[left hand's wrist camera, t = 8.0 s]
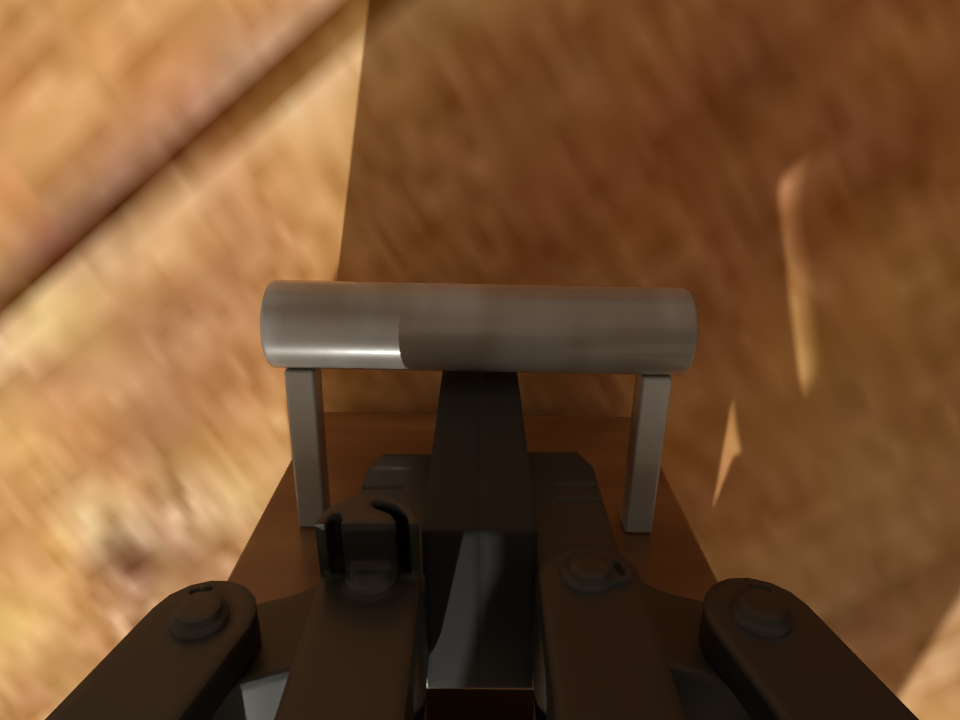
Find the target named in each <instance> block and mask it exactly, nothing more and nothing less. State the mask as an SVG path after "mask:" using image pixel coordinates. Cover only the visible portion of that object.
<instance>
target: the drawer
mask: <svg viewBox="0 0 960 720" xmlns="http://www.w3.org/2000/svg"><path fill="white" fill-rule="evenodd" d="M260 334H261V343H262V348H263V352H264V355H265V358H266V360H267V362H268V364H269V365H270V366H272V367H274V368H287V369H286V370H285V384H286V394H287V405H288V416H289V426H290V437H291V447H292V460H291V462H290V464H289V466H288V468H287V470H286V472H285V473H284V475H283V477H282V479H281V481H280V483H279V485H278V487H277V488H276V490H275V492H274V494H273V496H272V498H271V500H270V502H269V504H268V505H267V507H266V509H265V511H264V513H263V515H262V517H261V519H260V520H259V522H258V524H257V526H256V528H255V530H254V532H253V534H252V535H251V537H250V539H249V541H248V543H247V545H246V547H245V549H244V551H243V552H242V554H241V556H240V558H239V560H238V562H237V564H236V566H235V567H234V569H233V571H232V573H231V575H230V577H229V579H228V581H232V582H234V583H237V584H240V585H242V586H245V587H247V588H248V590H249V591H250V592H251V593H252V594H253V595H254V597H255V599H256V604H259V603H263V602H268V601H272V600H276V599H281V598H285V597H288V596H292V595H295V594H298V593H301V592H303V591H305V590H307V589H309V588H311V587H313V586H315V585H317V584H318V583H319V580H320V577H321V576H320V567H319V558H318V549H317V540H316V531H315V523H316V522H317V520H318V519H319V517H320V516H321V515H322V513H323V512H324V511H326V510H327V509H329V508H330V507H332V506H333V505H335V504H336V503H339V502H342V501H345V500H348V499H350V498H353V497H359V493H360V490H362V483H363V480H364V477H365V473H366V470H367V468H368V467H369V466H370V465H371V464H373V463H374V462H375V461H376V460H377V459H378V458H379V457H380V456H381V455H382V454H432V448H433V441H434V433H435V426H436V418H437V414H410V413H353V412H324V408H323V395H322V381H321V369H366V370H421V371H477V372H532V373H588V374H636V377H635V386H634V395H633V404H632V413H631V417H579V416H523V421H524V429H525V436H526V444H527V451H528V452H578V453H579V454H580V455H581V456H582V457H583V458H584V459H585V460H586V461H587V462H588V463H589V464H590V465H592V466H593V469H594V472H595V475H596V479H597V482H598V487H599V488H600V492H601V495H602V501H603V502H604V505H605V508H606V512H607V515H608V518H609V521H610V525H611V528H612V531H613V535H614V538H615V541H616V545H617V548H618V551H619V554H620V555H621V556H623V557H624V558H625V559H627V560H628V561H629V562H631V563H632V565H633V566H634V568H635V569H636V571H637V573H638V574H639V576H640V579H641V581H642V582H644V583H645V584H647V585H650V586H652V587H654V588H656V589H658V590H661V591H664V592H667V593H670V594H673V595H677V596H682V597H686V598H690V599H695V600H699V601H703V602H704V598H705V594H706V593H707V592H708V590H709V589H710V588H711V587H712V586H713V585H714V584H716V583H718V582H717V580H716V578H715V576H714V574H713V572H712V570H711V568H710V566H709V564H708V561H707V559H706V557H705V555H704V553H703V551H702V549H701V547H700V545H699V543H698V541H697V539H696V537H695V535H694V533H693V531H692V529H691V527H690V525H689V523H688V521H687V519H686V517H685V515H684V513H683V511H682V509H681V507H680V505H679V503H678V501H677V499H676V497H675V495H674V493H673V491H672V489H671V487H670V484H669V482H668V480H667V478H666V476H665V474H664V472H663V470H662V468H661V466H660V465H661V457H662V450H663V442H664V435H665V427H666V420H667V412H668V405H669V397H670V390H671V382H672V378H671V376H670V375H683V374H685V373H687V372H688V371H689V369H690V367H691V365H692V363H693V360H694V357H695V352H696V347H697V340H698V316H697V308H696V304H695V300H694V297H693V295H692V293H691V292H690V290H688V289H686V288H680V287H626V286H573V285H519V284H466V283H412V282H358V281H305V280H274V281H272V282H270V283H269V284H268V286H267V288H266V290H265V293H264V296H263V300H262V305H261V314H260ZM426 711H427V720H533V711H534V687H533V676H532V688H428V683H427V687H426Z"/></svg>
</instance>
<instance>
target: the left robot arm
mask: <svg viewBox="0 0 960 720" xmlns="http://www.w3.org/2000/svg"><path fill="white" fill-rule="evenodd" d="M315 531H316V540H317V549H318V558H319V567H320V576H321V577H320V580H319V583H318V584H317V585H315V586H313V587H311V588H309V589H307V590H305V591H303V592H301V593H298V594H295V595H292V596H288V597H285V598H281V599H276V600H272V601H268V602H263V603H259V604H256V599H255V597H254V595H253V594H252V593H251V592H250V591H249V590H248V588H247V587H245V586H242V585H240V584H237V583H234V582H232V581H208V582H204V583H199V584H195V585H190V586H188V587H186V588H184V589H182V590H179V591H177V592H175V593H173V594H171V595H169V596H168V597H167V598H165V599H164V600H163V601H162V602H160V603H159V604H158V605H156V606H155V607H154V608H153V609H152V610H151V611H150V612H149V613H148V614H147V615H146V616H145V617H144V618H143V619H142V620H141V621H140V622H139V623H138V624H137V625H136V626H135V627H134V628H133V629H132V630H131V631H130V632H129V633H128V635H127V636H126V637H125V638H124V639H123V640H122V641H121V642H120V643H119V644H118V645H117V646H116V647H115V648H114V649H113V650H112V651H111V652H110V653H109V654H108V655H107V656H106V657H105V658H104V659H103V660H102V661H101V662H100V663H99V664H98V665H97V667H96V668H95V669H94V670H93V671H92V672H91V673H90V674H89V675H88V676H87V677H86V678H85V679H84V680H83V681H82V682H81V683H80V684H79V685H78V686H77V687H76V688H75V689H74V690H73V691H72V692H71V693H70V694H69V695H68V696H67V697H66V698H65V700H64V701H63V702H62V703H61V704H60V705H59V706H58V707H57V708H56V709H55V710H54V711H53V712H52V713H51V714H50V715H49V716H48V717H47V718H46V719H45V720H427V711H426V687H427V683H428V688H532V676H533V687H534V711H533V720H919V719H918V718H917V717H916V716H915V715H914V714H913V713H912V712H911V711H910V710H909V709H908V708H907V707H906V706H905V705H904V704H903V703H902V702H901V701H900V700H899V699H898V698H897V697H896V696H895V695H894V694H893V693H892V692H891V691H890V690H889V689H888V688H887V686H886V685H885V684H884V683H883V682H882V681H881V680H880V679H879V678H878V677H877V676H876V675H875V674H874V673H873V672H872V671H871V670H870V669H869V668H868V667H867V666H866V665H865V664H864V663H863V662H862V661H861V660H860V659H859V658H858V657H857V656H856V655H855V654H854V653H853V652H852V651H851V650H850V649H849V648H848V647H847V645H846V644H845V643H844V642H843V641H842V640H841V639H840V638H839V637H838V636H837V635H836V634H835V633H834V632H833V631H832V630H831V629H830V628H829V627H828V626H827V625H826V624H825V623H824V622H823V621H822V620H821V619H820V618H819V617H818V616H817V615H816V614H815V613H814V612H813V611H812V610H811V609H810V608H809V607H808V606H807V605H806V604H805V603H804V602H802V601H801V600H800V599H799V598H797V597H796V596H795V595H793V594H792V593H791V592H789V591H787V590H785V589H782V588H780V587H778V586H776V585H774V584H772V583H769V582H764V581H760V580H755V579H751V578H731V579H727V580H724V581H721V582H719V583H716V584H714V585H713V586H712V587H711V588H710V589H709V590H708V592H707V593H706V594H705V598H704V602H703V601H699V600H695V599H690V598H686V597H682V596H677V595H673V594H670V593H667V592H664V591H661V590H658V589H656V588H654V587H652V586H650V585H647V584H645V583H644V582H642V581H641V579H640V576H639V574H638V573H637V571H636V569H635V568H634V566H633V565H632V563H631V562H629V561H628V560H627V559H625V558H624V557H623V556H621V555H620V554H619V551H618V548H617V545H616V541H615V538H614V535H613V531H612V528H611V525H610V521H609V518H608V515H607V512H606V508H605V505H604V502H603V501H602V495H601V492H600V488H599V487H598V482H597V479H596V475H595V472H594V469H593V466H592V465H590V464H589V463H588V462H587V461H586V460H585V459H584V458H583V457H582V456H581V455H580V454H579V453H578V452H528V451H527V444H526V436H525V429H524V421H523V414H522V406H521V399H520V391H519V384H518V376H517V372H477V371H443V373H442V381H441V388H440V396H439V403H438V411H437V418H436V426H435V433H434V441H433V448H432V454H382V455H381V456H380V457H379V458H378V459H377V460H376V461H375V462H374V463H373V464H371V465H370V466H369V467H368V468H367V470H366V473H365V477H364V480H363V483H362V490H360V493H359V497H353V498H350V499H348V500H345V501H342V502H339V503H336V504H335V505H333V506H332V507H330V508H329V509H327V510H326V511H324V512H323V513H322V515H321V516H320V517H319V519H318V520H317V522H316V523H315Z"/></svg>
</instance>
